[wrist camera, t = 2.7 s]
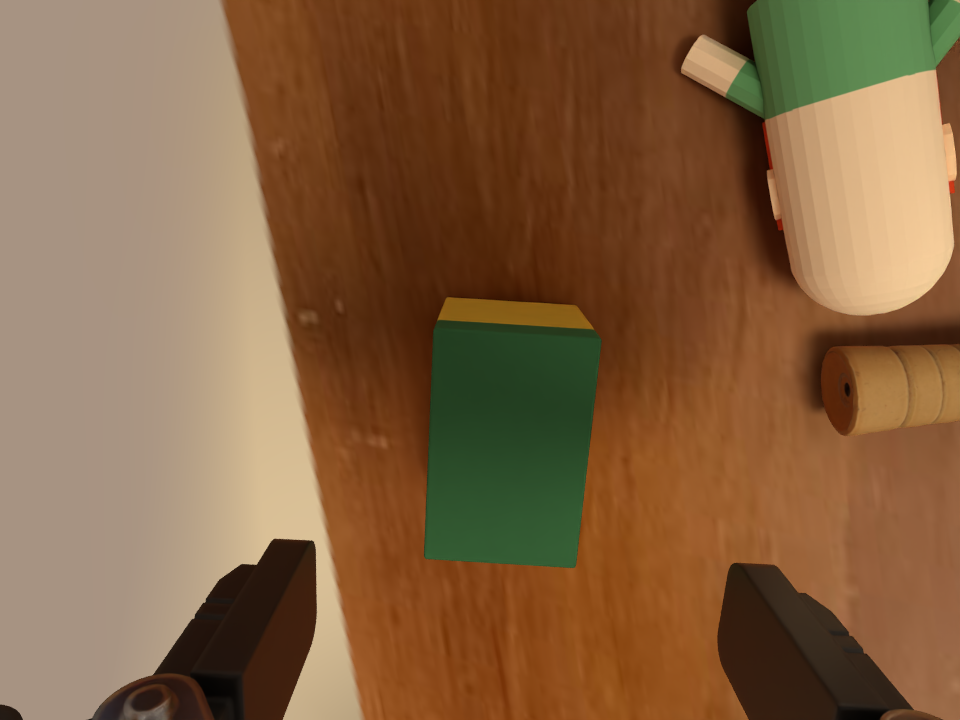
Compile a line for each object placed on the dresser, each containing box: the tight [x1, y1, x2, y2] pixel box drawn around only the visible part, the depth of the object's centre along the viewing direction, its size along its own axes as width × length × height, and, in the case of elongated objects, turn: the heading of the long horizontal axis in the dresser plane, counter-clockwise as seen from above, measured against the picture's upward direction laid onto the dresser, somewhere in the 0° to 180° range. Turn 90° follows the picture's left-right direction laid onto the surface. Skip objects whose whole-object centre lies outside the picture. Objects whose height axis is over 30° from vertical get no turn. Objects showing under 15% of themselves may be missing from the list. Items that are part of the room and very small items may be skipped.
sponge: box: [424, 297, 602, 568], centre depth 20 cm, size 7×4×5 cm, turn 176°
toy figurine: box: [681, 0, 960, 315], centre depth 18 cm, size 8×4×12 cm
